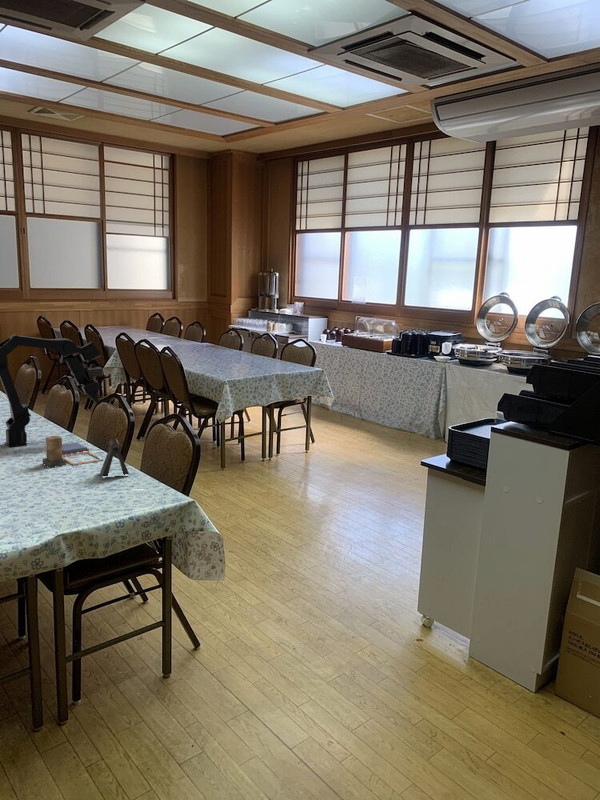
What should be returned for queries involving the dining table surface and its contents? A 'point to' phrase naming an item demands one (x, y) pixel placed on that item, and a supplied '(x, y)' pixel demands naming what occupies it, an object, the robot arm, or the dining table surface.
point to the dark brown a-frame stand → (109, 458)
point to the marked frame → (76, 454)
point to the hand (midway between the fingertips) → (94, 400)
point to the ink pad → (73, 448)
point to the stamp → (54, 452)
